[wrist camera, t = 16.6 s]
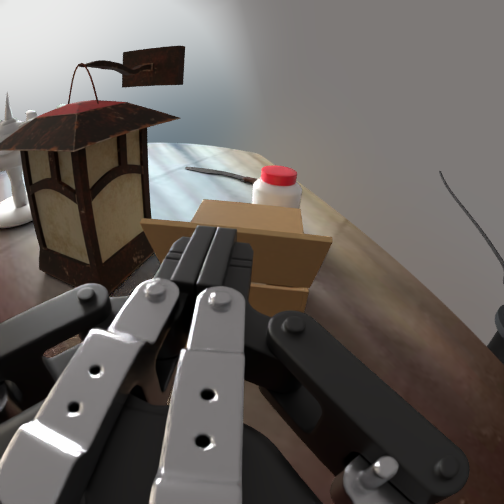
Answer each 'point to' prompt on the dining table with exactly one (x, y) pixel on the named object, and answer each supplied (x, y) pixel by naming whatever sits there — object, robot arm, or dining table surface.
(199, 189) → the dining table surface
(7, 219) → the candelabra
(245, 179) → the knife
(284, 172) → the pill bottle
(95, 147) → the lantern
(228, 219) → the carton
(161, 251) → the flap
